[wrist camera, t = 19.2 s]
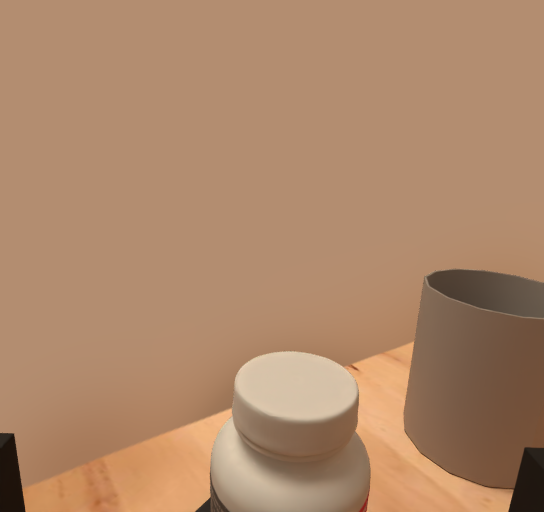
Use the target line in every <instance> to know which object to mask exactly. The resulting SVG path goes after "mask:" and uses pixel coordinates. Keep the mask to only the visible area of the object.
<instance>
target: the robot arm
mask: <svg viewBox="0 0 544 512" xmlns="http://www.w3.org/2000/svg"><path fill="white" fill-rule="evenodd" d="M0 512H25V505H24V498H23V491H22V485H21V478H20V471H19V465H18V457H17V450H16V444H15V437H14V434H12V433H0ZM508 512H544V448H533V447H525V448H524V452H523V456H522V460H521V464H520V468H519V472H518V476H517V480H516V484H515V488H514V492H513V496H512V500H511V504H510V508H509V511H508Z"/></svg>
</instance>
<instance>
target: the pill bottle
mask: <svg viewBox="0 0 544 512" xmlns="http://www.w3.org/2000/svg"><path fill="white" fill-rule="evenodd" d="M358 405H359V390H358V385H357V382H356V380H355V379H354V377H353V376H352V375H351V373H350V372H348V371H347V370H346V369H345V368H344V367H342V366H341V365H339V364H337V363H336V362H334V361H332V360H330V359H327V358H324V357H321V356H317V355H314V354H309V353H303V352H276V353H270V354H265V355H262V356H259V357H256V358H254V359H252V360H250V361H249V362H247V363H246V364H244V365H243V367H241V368H240V370H239V372H238V373H237V375H236V378H235V384H234V397H233V405H232V417H230V419H229V420H228V421H227V422H226V423H225V424H224V425H223V427H222V428H221V429H220V431H219V433H218V435H217V437H216V439H215V442H214V445H213V449H212V453H211V466H210V494H211V512H366V511H367V503H368V496H369V490H370V462H369V457H368V454H367V451H366V448H365V446H364V444H363V442H362V440H361V438H360V437H359V436H358V434H357V433H356V432H355V430H356V427H357V422H358Z"/></svg>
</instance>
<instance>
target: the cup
mask: <svg viewBox="0 0 544 512" xmlns="http://www.w3.org/2000/svg"><path fill="white" fill-rule="evenodd" d="M404 427H405V432H406V433H407V435H408V436H409V437H410V439H411V440H412V442H413V443H414V444H415V446H416V447H417V448H418V450H419V451H420V452H421V453H422V454H424V455H425V456H426V457H428V458H429V459H431V460H432V461H433V462H435V463H436V464H438V465H439V466H441V467H442V468H443V469H445V470H446V471H448V472H449V473H452V474H454V475H457V476H460V477H462V478H465V479H468V480H470V481H473V482H476V483H478V484H481V485H483V486H487V487H500V488H515V484H516V480H517V476H518V472H519V468H520V464H521V460H522V456H523V452H524V448H525V447H533V448H544V283H543V282H539V281H535V280H531V279H528V278H524V277H520V276H516V275H510V274H503V273H498V272H491V271H485V270H469V269H449V270H439V271H434V272H432V273H430V274H428V275H427V276H425V277H424V282H423V289H422V296H421V302H420V308H419V315H418V322H417V328H416V335H415V341H414V348H413V355H412V361H411V368H410V374H409V381H408V388H407V394H406V401H405V407H404Z"/></svg>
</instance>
